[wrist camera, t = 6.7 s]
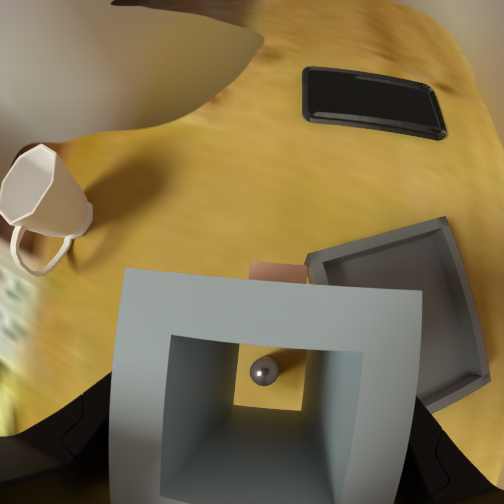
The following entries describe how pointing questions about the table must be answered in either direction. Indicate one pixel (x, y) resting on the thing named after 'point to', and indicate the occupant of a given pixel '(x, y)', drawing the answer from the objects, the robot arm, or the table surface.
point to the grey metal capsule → (264, 371)
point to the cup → (43, 203)
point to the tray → (433, 301)
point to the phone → (370, 102)
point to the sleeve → (252, 418)
